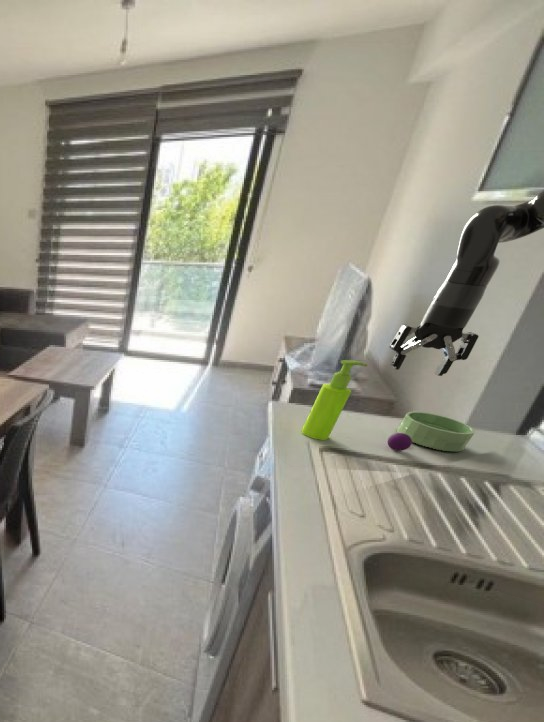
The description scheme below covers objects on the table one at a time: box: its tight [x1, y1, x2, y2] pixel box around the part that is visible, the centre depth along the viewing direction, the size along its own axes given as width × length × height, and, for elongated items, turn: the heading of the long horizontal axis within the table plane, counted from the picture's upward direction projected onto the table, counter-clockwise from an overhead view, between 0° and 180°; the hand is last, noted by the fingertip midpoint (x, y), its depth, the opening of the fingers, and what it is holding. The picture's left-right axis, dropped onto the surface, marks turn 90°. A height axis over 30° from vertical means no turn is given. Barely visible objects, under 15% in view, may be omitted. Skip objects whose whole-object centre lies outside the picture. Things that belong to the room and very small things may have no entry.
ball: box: [387, 432, 413, 452], centre depth 119 cm, size 4×4×4 cm
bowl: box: [396, 411, 476, 452], centre depth 124 cm, size 13×13×6 cm
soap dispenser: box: [301, 359, 368, 441], centre depth 120 cm, size 6×7×20 cm
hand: (416, 371), depth 117 cm, fingers open, 8 cm apart
